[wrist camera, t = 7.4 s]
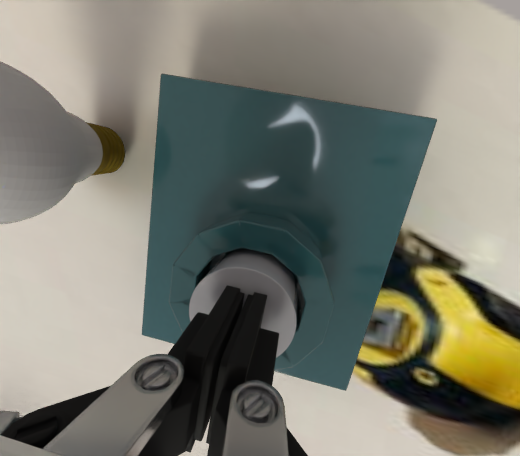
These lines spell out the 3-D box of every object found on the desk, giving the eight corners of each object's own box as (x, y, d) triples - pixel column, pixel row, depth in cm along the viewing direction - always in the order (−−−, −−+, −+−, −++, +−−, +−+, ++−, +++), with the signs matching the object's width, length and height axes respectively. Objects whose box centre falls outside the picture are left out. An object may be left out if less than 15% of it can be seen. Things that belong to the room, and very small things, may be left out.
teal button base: (187, 89, 15) (133, 56, 10) (410, 127, 14) (467, 109, 9) (166, 308, 19) (118, 359, 14) (339, 353, 17) (353, 426, 13)
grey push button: (214, 238, 13) (195, 255, 10) (307, 260, 12) (308, 282, 10) (203, 319, 14) (183, 350, 12) (287, 341, 13) (284, 377, 11)
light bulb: (175, 135, 16) (-25, 96, 6) (133, 216, 17) (-75, 285, 8) (91, 77, 16) (-244, -54, 6) (57, 164, 17) (-247, 169, 8)
